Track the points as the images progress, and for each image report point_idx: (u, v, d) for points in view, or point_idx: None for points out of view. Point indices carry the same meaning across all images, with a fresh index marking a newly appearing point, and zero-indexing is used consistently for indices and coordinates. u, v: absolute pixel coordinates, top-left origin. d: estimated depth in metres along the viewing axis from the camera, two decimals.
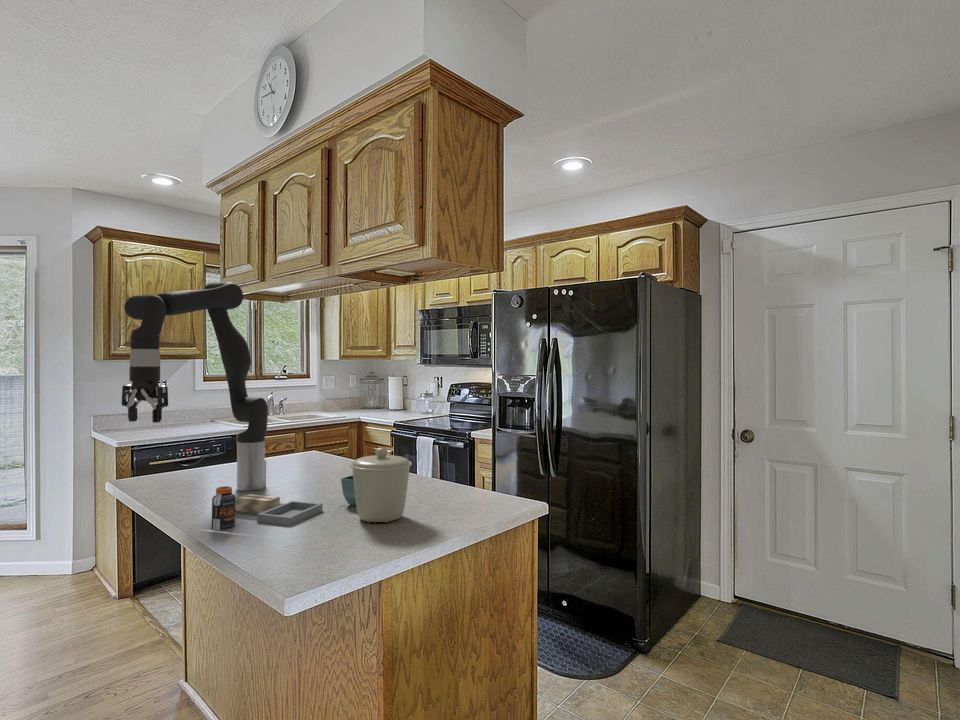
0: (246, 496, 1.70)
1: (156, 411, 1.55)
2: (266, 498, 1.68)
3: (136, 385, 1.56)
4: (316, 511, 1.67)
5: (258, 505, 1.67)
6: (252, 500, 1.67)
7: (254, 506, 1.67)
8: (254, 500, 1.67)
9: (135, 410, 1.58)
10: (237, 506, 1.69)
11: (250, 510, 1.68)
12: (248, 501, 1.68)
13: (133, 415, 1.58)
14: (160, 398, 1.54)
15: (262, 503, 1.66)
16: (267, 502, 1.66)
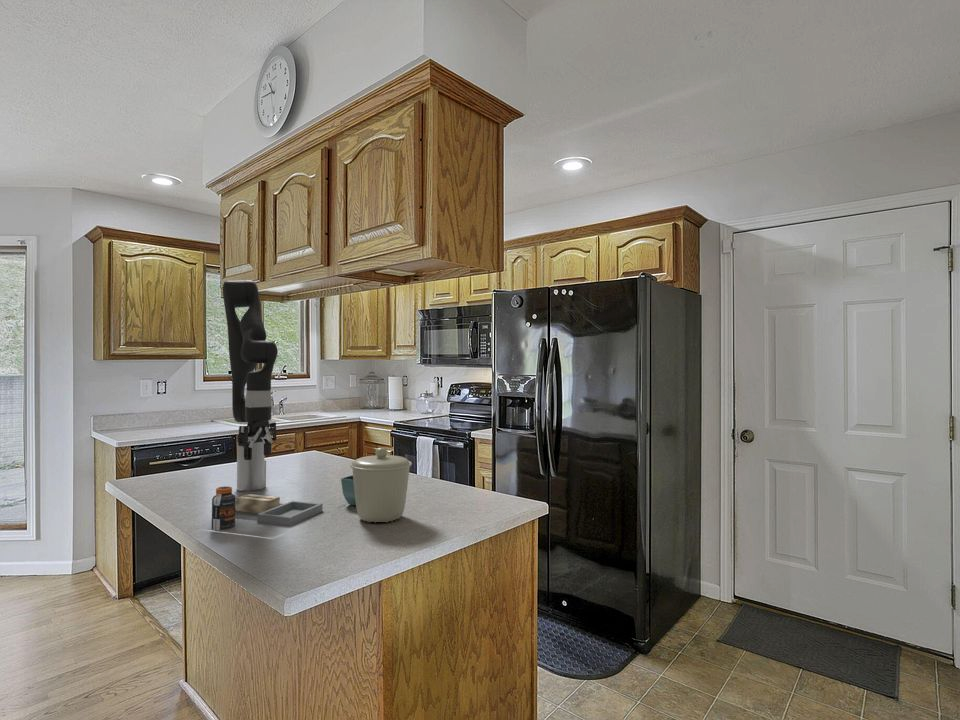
0: (246, 496, 1.70)
1: (270, 445, 1.74)
2: (266, 498, 1.68)
3: (257, 424, 1.68)
4: (316, 511, 1.67)
5: (258, 505, 1.67)
6: (252, 500, 1.67)
7: (254, 506, 1.67)
8: (254, 500, 1.67)
9: None
10: (237, 506, 1.69)
11: (250, 510, 1.68)
12: (248, 501, 1.68)
13: None
14: (275, 432, 1.76)
15: (262, 503, 1.66)
16: (267, 502, 1.66)
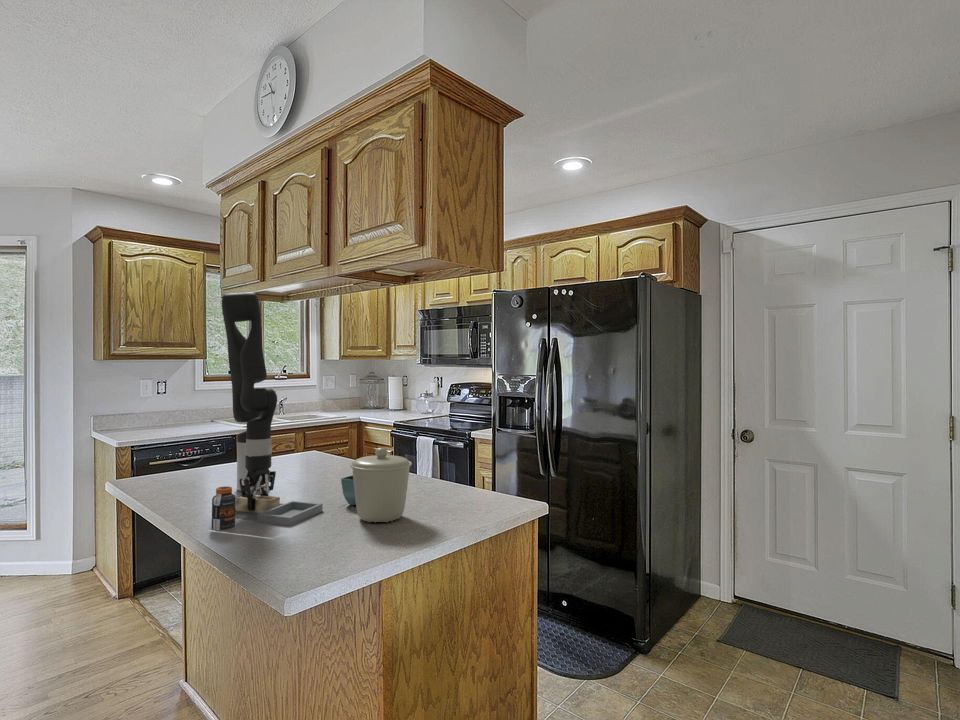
0: None
1: None
2: (266, 498, 1.68)
3: (257, 473, 1.68)
4: (316, 511, 1.67)
5: (258, 505, 1.67)
6: None
7: None
8: None
9: None
10: (237, 506, 1.69)
11: None
12: None
13: None
14: (273, 482, 1.75)
15: (262, 503, 1.66)
16: (267, 502, 1.66)
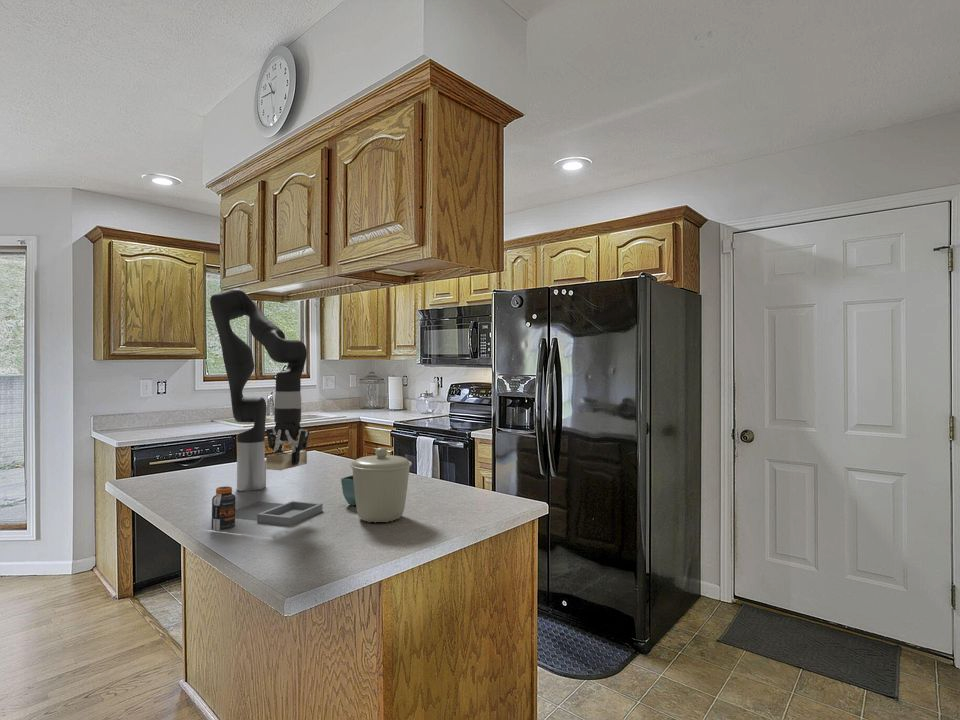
0: (279, 454, 1.59)
1: None
2: None
3: None
4: (316, 511, 1.67)
5: None
6: None
7: None
8: None
9: None
10: (281, 465, 1.57)
11: (292, 465, 1.62)
12: (291, 456, 1.61)
13: None
14: None
15: (301, 454, 1.66)
16: (305, 452, 1.67)
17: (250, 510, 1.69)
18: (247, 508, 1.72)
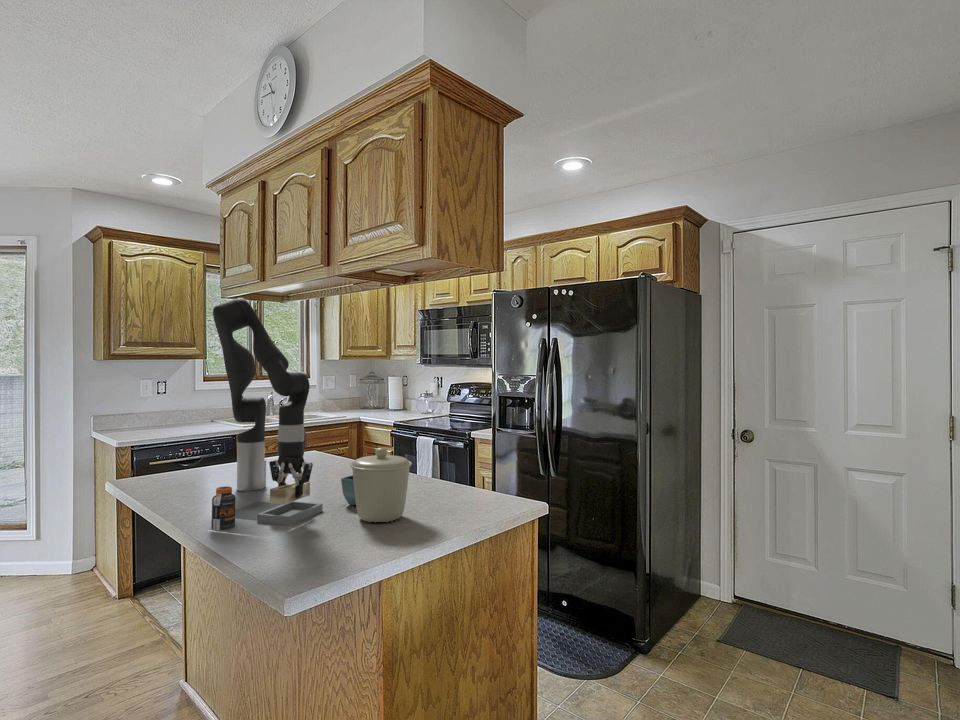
0: (283, 488, 1.60)
1: None
2: None
3: None
4: (316, 511, 1.67)
5: None
6: None
7: None
8: None
9: None
10: (285, 499, 1.57)
11: (296, 498, 1.62)
12: (294, 489, 1.61)
13: None
14: None
15: (305, 486, 1.66)
16: (308, 483, 1.68)
17: (250, 510, 1.69)
18: (247, 508, 1.72)
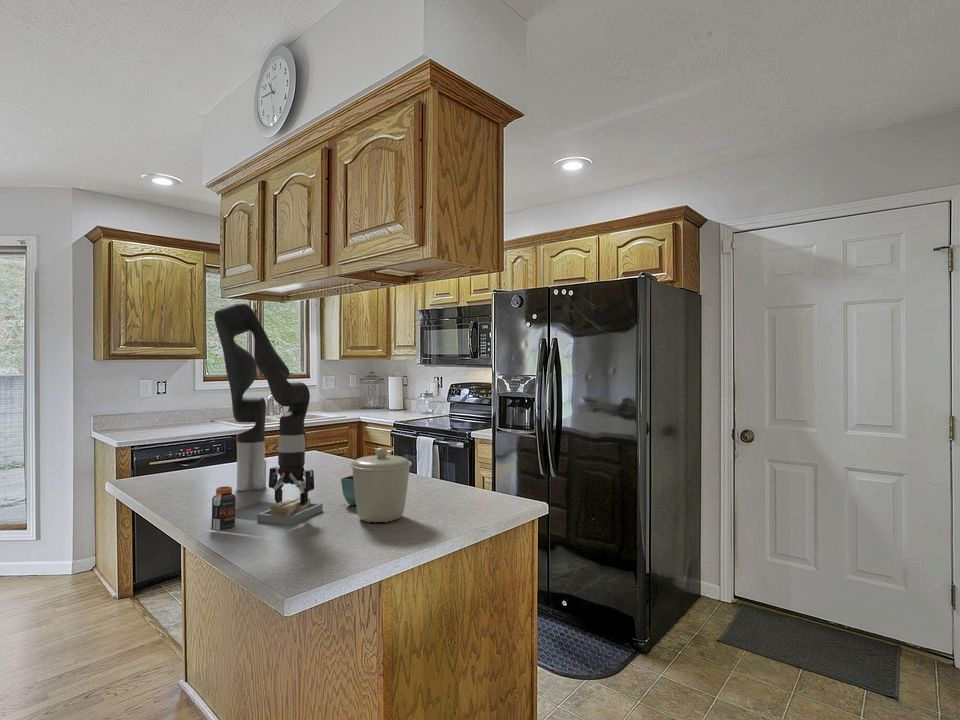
0: (284, 505, 1.60)
1: None
2: (299, 499, 1.67)
3: None
4: (316, 511, 1.67)
5: (302, 506, 1.65)
6: (298, 504, 1.63)
7: (299, 509, 1.64)
8: None
9: None
10: None
11: None
12: (295, 506, 1.62)
13: None
14: None
15: None
16: (309, 500, 1.68)
17: (250, 510, 1.69)
18: (247, 508, 1.72)
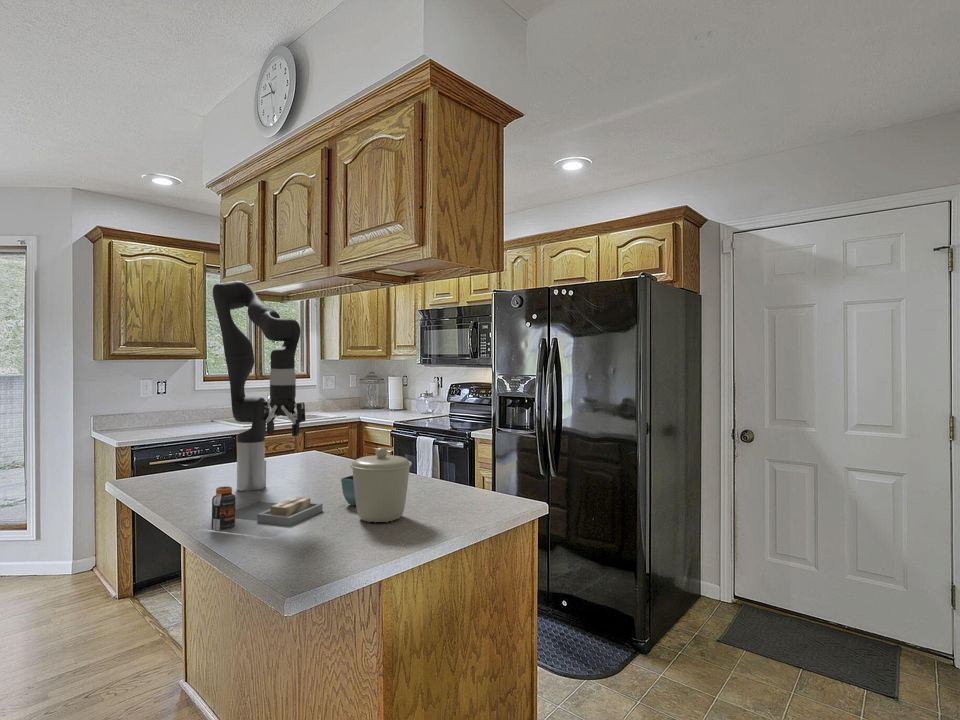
0: (284, 505, 1.60)
1: None
2: (299, 499, 1.67)
3: None
4: (316, 511, 1.67)
5: (302, 506, 1.65)
6: (298, 504, 1.63)
7: (299, 509, 1.64)
8: (300, 503, 1.64)
9: None
10: None
11: None
12: (295, 506, 1.62)
13: None
14: None
15: (305, 502, 1.66)
16: (309, 500, 1.68)
17: (250, 510, 1.69)
18: (247, 508, 1.72)
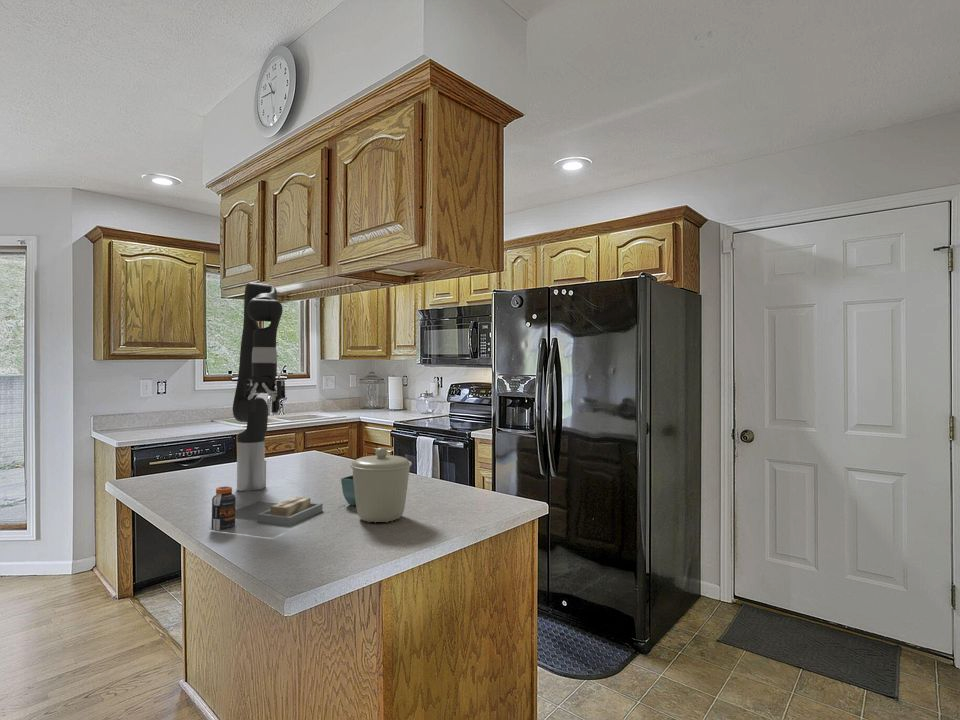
0: (284, 505, 1.60)
1: None
2: (299, 499, 1.67)
3: None
4: (316, 511, 1.67)
5: (302, 506, 1.65)
6: (298, 504, 1.63)
7: (299, 509, 1.64)
8: (300, 503, 1.64)
9: None
10: None
11: None
12: (295, 506, 1.62)
13: None
14: None
15: (305, 502, 1.66)
16: (309, 500, 1.68)
17: (250, 510, 1.69)
18: (247, 508, 1.72)
